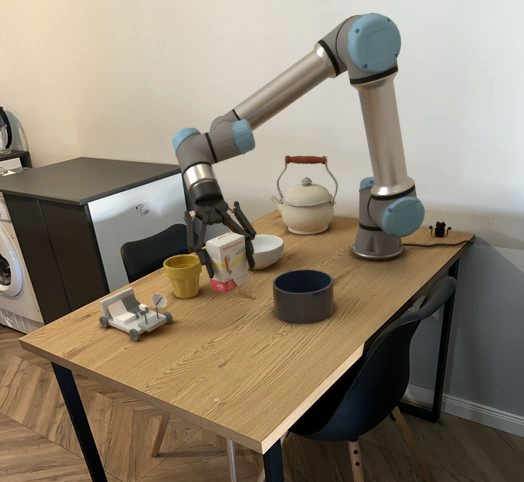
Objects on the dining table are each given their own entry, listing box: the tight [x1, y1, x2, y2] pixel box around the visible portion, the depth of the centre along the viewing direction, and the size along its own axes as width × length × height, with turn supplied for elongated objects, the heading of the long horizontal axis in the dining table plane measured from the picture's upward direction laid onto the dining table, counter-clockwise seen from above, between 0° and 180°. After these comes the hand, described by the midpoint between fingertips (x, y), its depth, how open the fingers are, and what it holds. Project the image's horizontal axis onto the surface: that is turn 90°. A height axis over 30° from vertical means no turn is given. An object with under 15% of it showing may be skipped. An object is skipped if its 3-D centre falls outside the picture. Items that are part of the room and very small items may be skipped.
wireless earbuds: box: [428, 221, 452, 238], centre depth 177 cm, size 7×2×5 cm, turn 65°
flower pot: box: [163, 254, 203, 299], centre depth 152 cm, size 10×10×10 cm
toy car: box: [98, 286, 174, 342], centre depth 137 cm, size 18×10×12 cm
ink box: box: [205, 231, 249, 294], centre depth 130 cm, size 9×5×12 cm, turn 139°
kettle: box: [269, 154, 339, 236], centre depth 189 cm, size 25×18×25 cm
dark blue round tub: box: [271, 268, 334, 324], centre depth 139 cm, size 15×15×8 cm
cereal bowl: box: [247, 233, 285, 270], centre depth 167 cm, size 17×17×7 cm
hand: (232, 271), depth 128 cm, fingers closed on ink box, 9 cm apart
